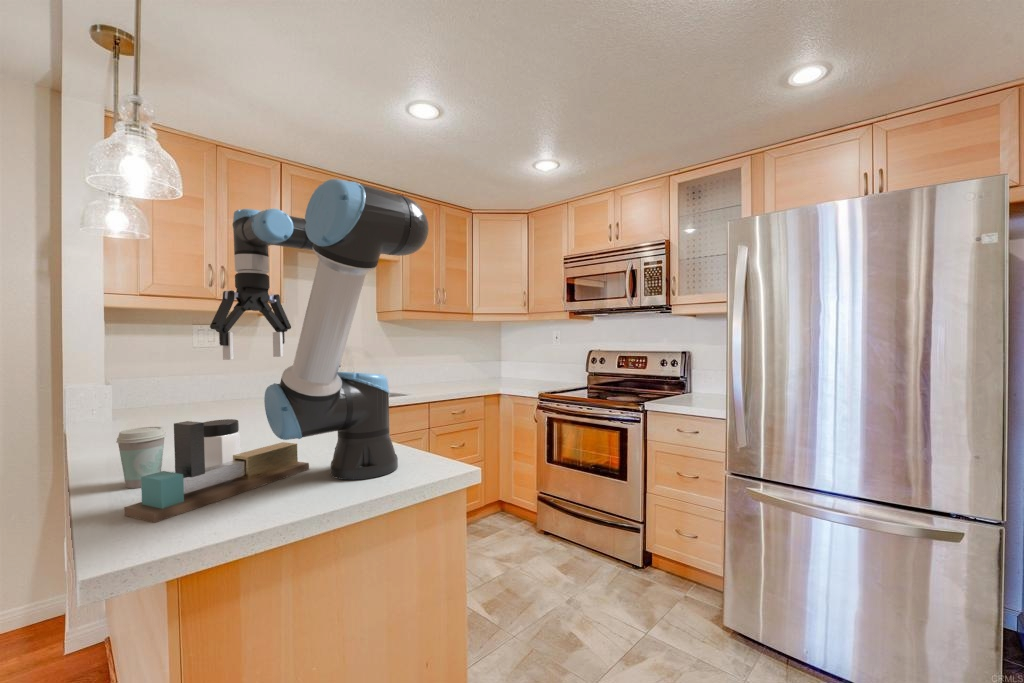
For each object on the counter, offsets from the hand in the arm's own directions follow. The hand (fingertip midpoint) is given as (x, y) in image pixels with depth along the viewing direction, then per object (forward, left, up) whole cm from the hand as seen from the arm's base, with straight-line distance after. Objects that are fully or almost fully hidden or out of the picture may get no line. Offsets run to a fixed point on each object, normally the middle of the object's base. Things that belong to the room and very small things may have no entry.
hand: (254, 358), depth 114 cm
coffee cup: (+10, +20, -27) cm, 35 cm away
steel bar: (-12, +19, -24) cm, 33 cm away
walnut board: (-12, +15, -27) cm, 33 cm away
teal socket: (-12, +28, -25) cm, 40 cm away
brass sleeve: (-12, +7, -25) cm, 29 cm away
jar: (+2, +8, -27) cm, 28 cm away
